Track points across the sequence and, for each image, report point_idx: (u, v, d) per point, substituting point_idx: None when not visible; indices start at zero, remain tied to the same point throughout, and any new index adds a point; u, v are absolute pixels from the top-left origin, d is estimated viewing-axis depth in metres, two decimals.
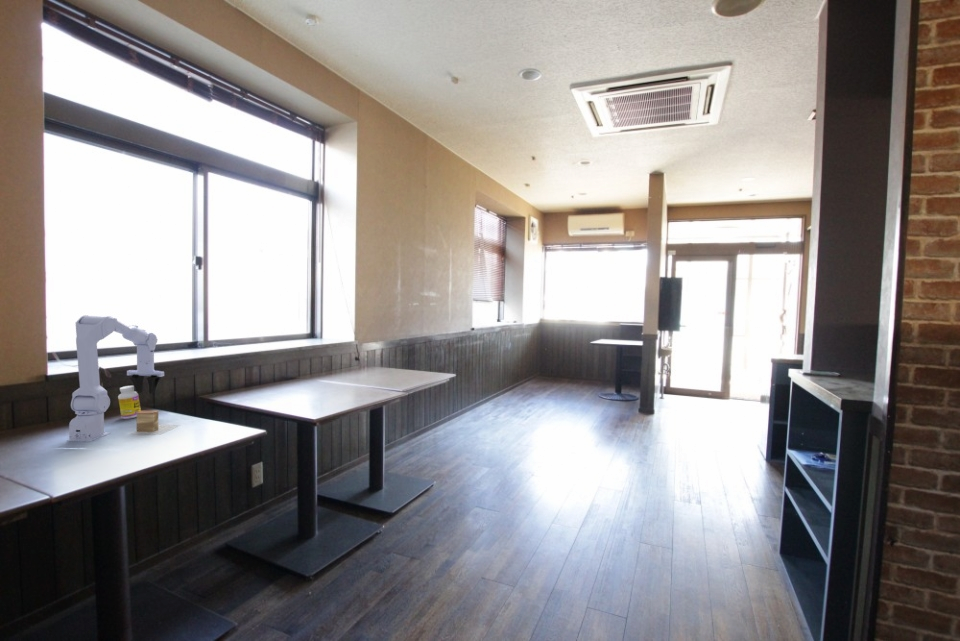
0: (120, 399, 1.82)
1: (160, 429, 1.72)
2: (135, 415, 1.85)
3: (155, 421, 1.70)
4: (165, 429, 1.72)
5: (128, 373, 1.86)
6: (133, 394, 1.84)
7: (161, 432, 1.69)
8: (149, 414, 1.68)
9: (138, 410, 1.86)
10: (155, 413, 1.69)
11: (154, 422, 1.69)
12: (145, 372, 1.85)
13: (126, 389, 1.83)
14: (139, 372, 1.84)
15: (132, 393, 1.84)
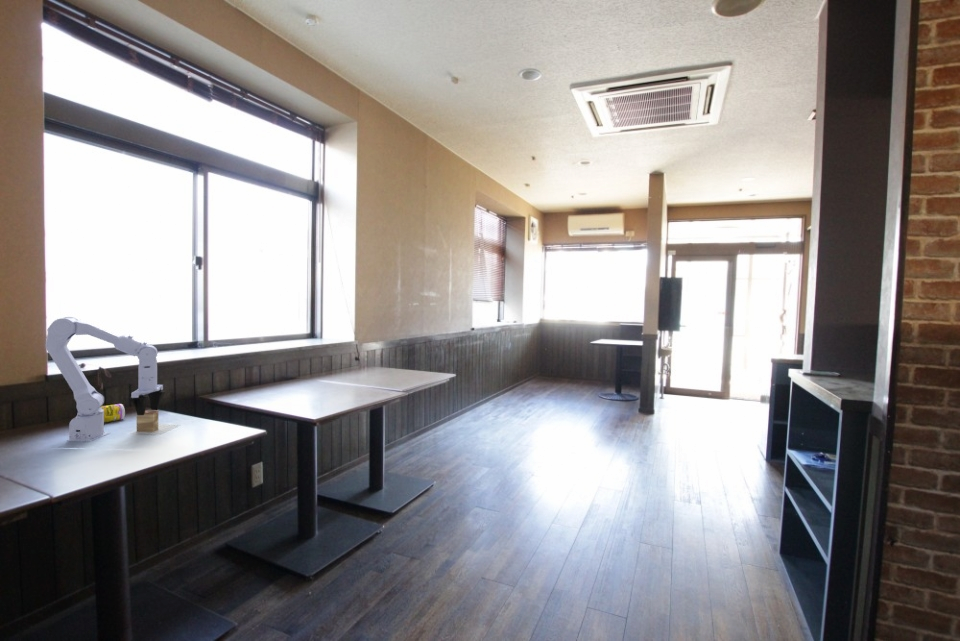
0: None
1: (160, 429, 1.72)
2: (122, 413, 1.81)
3: (155, 421, 1.70)
4: (165, 429, 1.72)
5: None
6: None
7: (161, 432, 1.69)
8: (149, 414, 1.68)
9: (117, 410, 1.80)
10: (155, 413, 1.69)
11: (154, 422, 1.69)
12: (137, 389, 1.67)
13: None
14: None
15: None
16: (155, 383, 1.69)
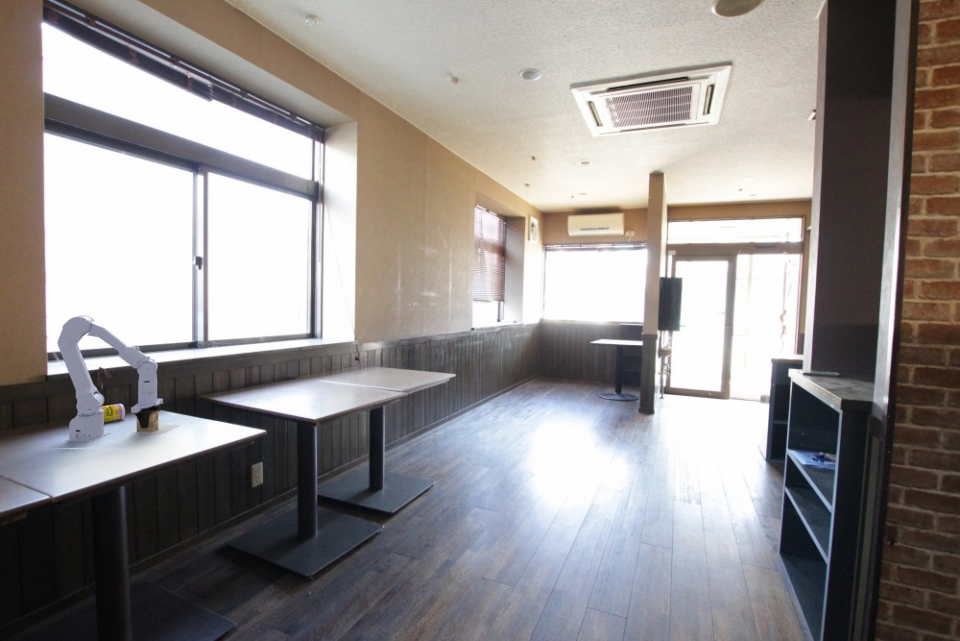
0: None
1: (160, 429, 1.72)
2: (122, 413, 1.81)
3: (155, 421, 1.70)
4: (165, 429, 1.72)
5: None
6: None
7: (161, 432, 1.69)
8: None
9: (117, 410, 1.80)
10: (155, 413, 1.69)
11: (154, 422, 1.69)
12: None
13: None
14: None
15: None
16: (155, 397, 1.69)
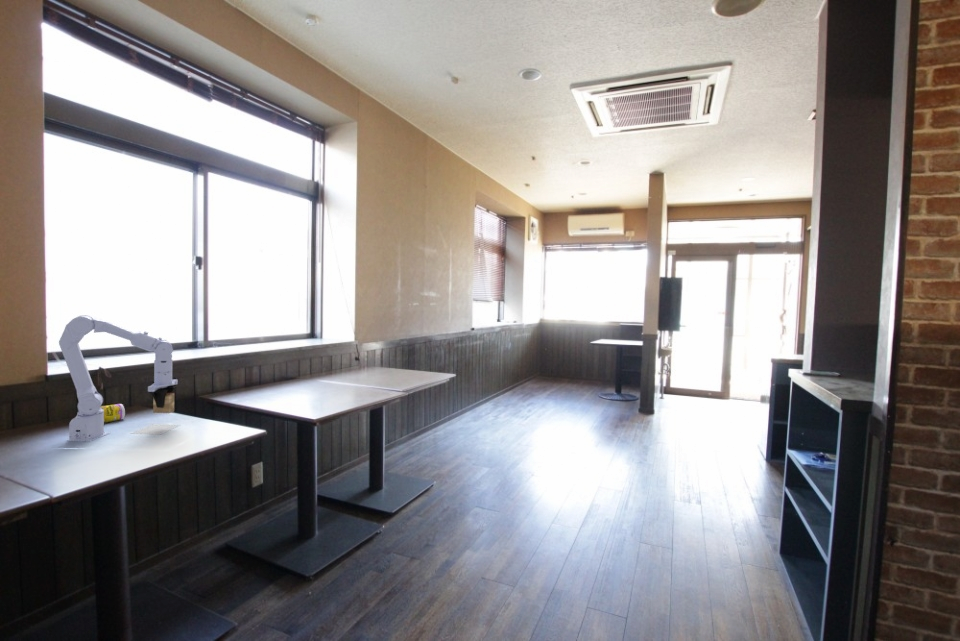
0: None
1: (160, 429, 1.72)
2: (122, 413, 1.81)
3: (171, 403, 1.73)
4: (165, 429, 1.72)
5: None
6: None
7: (161, 432, 1.69)
8: (165, 396, 1.72)
9: (117, 410, 1.80)
10: (171, 395, 1.73)
11: (170, 404, 1.73)
12: None
13: None
14: None
15: None
16: (170, 378, 1.73)
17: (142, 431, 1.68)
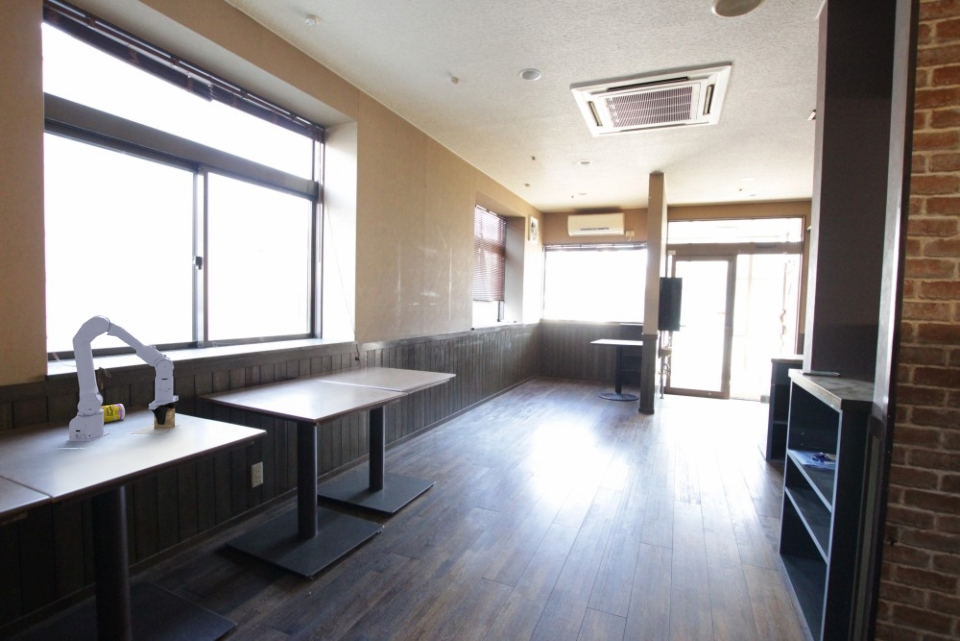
0: None
1: (160, 429, 1.72)
2: (122, 413, 1.81)
3: (172, 419, 1.74)
4: (165, 429, 1.72)
5: None
6: None
7: (161, 432, 1.69)
8: None
9: (117, 410, 1.80)
10: (172, 411, 1.74)
11: (171, 420, 1.73)
12: None
13: None
14: None
15: None
16: (171, 395, 1.73)
17: (142, 431, 1.68)
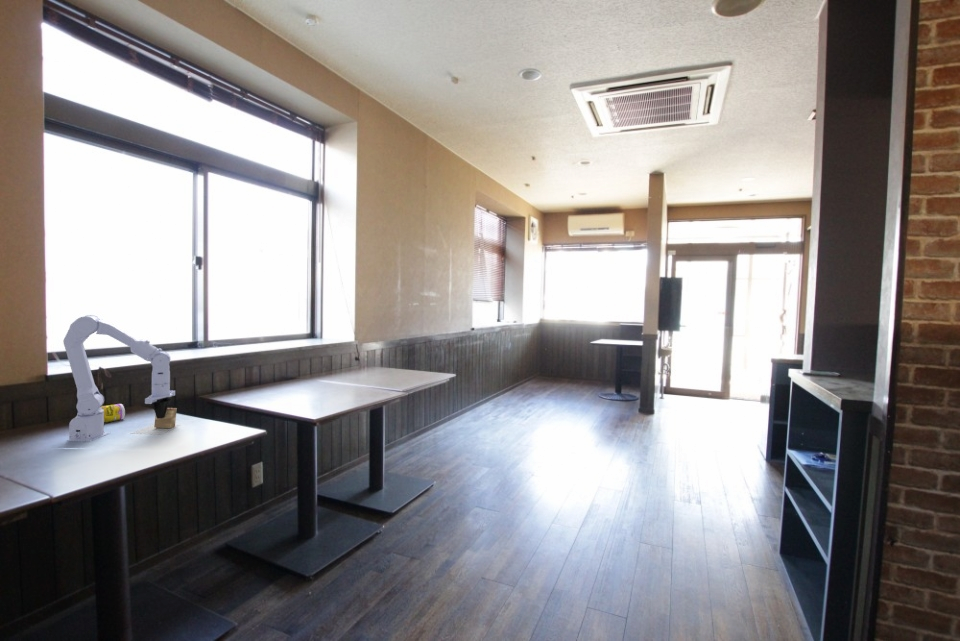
0: None
1: (160, 429, 1.72)
2: (122, 413, 1.81)
3: (173, 418, 1.74)
4: (165, 429, 1.72)
5: None
6: None
7: (161, 432, 1.69)
8: (168, 410, 1.73)
9: (117, 410, 1.80)
10: (173, 409, 1.75)
11: (172, 419, 1.74)
12: (151, 395, 1.69)
13: None
14: None
15: None
16: (168, 389, 1.71)
17: (142, 431, 1.68)
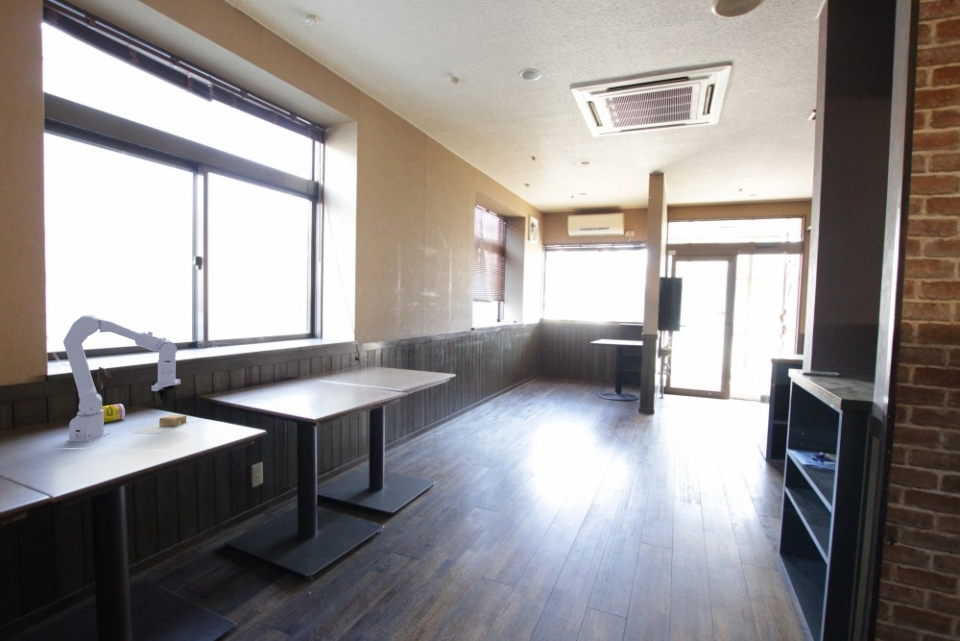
0: None
1: (160, 429, 1.72)
2: (122, 413, 1.81)
3: (180, 420, 1.79)
4: (165, 429, 1.72)
5: None
6: None
7: (161, 432, 1.69)
8: (182, 415, 1.82)
9: (117, 410, 1.80)
10: (185, 418, 1.82)
11: (180, 418, 1.79)
12: (157, 383, 1.73)
13: None
14: None
15: None
16: (174, 377, 1.75)
17: (142, 431, 1.68)
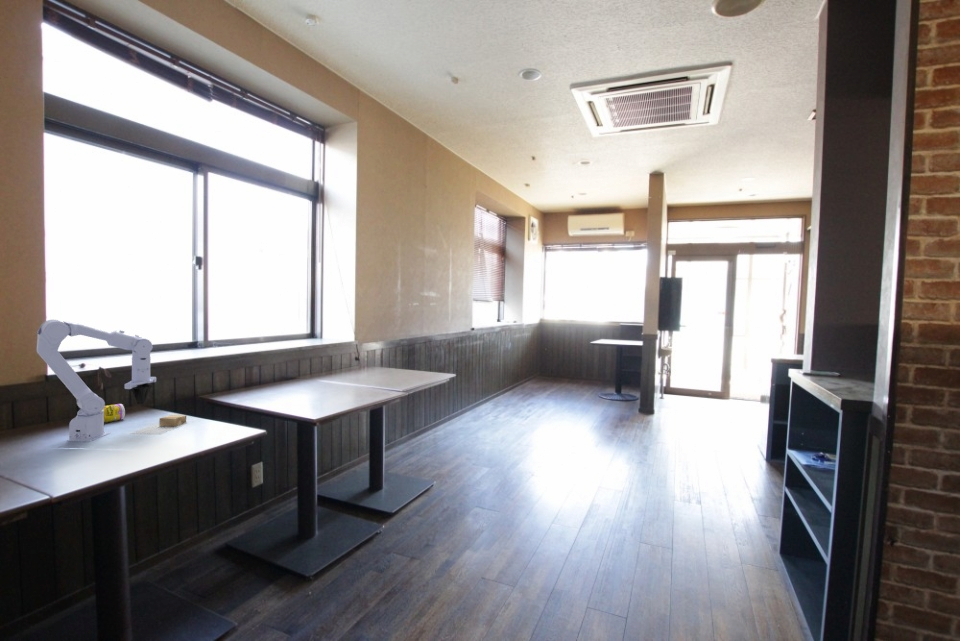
0: None
1: (160, 429, 1.72)
2: (122, 413, 1.81)
3: (180, 420, 1.79)
4: (165, 429, 1.72)
5: None
6: None
7: (161, 432, 1.69)
8: (182, 415, 1.82)
9: (117, 410, 1.80)
10: (185, 418, 1.82)
11: (180, 418, 1.79)
12: None
13: None
14: None
15: None
16: (148, 375, 1.72)
17: (142, 431, 1.68)
